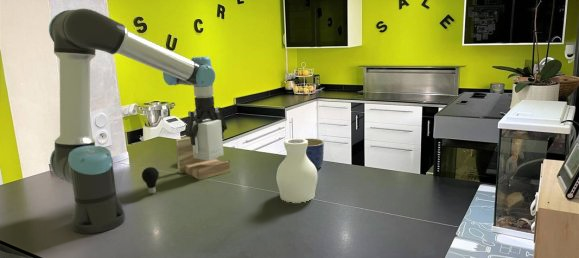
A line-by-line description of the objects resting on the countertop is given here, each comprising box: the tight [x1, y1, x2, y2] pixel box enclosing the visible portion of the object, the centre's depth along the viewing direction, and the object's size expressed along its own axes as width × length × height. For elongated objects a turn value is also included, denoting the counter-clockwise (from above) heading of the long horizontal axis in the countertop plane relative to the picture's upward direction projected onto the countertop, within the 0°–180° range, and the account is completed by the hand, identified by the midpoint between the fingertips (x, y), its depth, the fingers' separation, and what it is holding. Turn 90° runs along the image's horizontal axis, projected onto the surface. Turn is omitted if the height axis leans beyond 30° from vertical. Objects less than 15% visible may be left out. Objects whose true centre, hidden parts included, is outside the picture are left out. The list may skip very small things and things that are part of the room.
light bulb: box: [141, 166, 160, 195], centre depth 155 cm, size 6×6×10 cm
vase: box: [275, 137, 318, 204], centre depth 147 cm, size 14×14×20 cm
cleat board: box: [175, 136, 231, 180], centre depth 179 cm, size 15×18×14 cm
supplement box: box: [192, 119, 224, 160], centre depth 175 cm, size 9×9×15 cm
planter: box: [305, 138, 325, 170], centre depth 181 cm, size 12×12×11 cm
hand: (208, 149), depth 176 cm, fingers closed on supplement box, 10 cm apart
